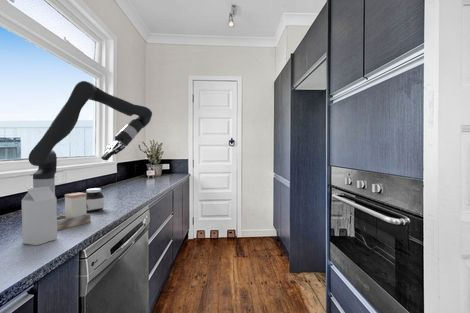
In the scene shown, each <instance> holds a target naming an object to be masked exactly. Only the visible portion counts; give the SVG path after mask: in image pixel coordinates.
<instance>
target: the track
mask: <svg viewBox="0 0 470 313" xmlns="http://www.w3.org/2000/svg"><path fill="white" fill-rule="evenodd" d="M91 219H92V218H91V213H89V214H88V213H86V215H82V216H77V217H72V218H67V219H65V214H63V215H57V231H58V230H59V231H60V230H62V229H66V228H71V227H75V226H80V225H83V224H84V225H85V224H88V223H91V221H92V220H91Z"/></svg>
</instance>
